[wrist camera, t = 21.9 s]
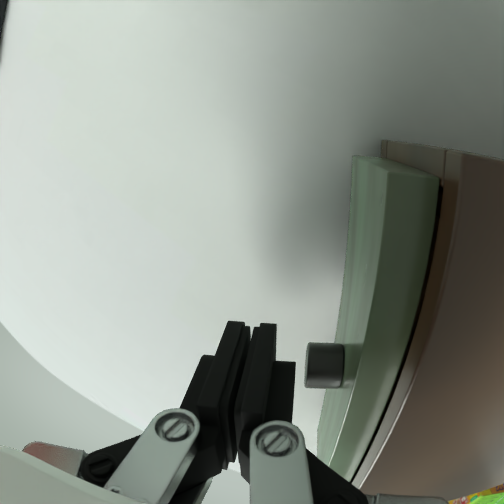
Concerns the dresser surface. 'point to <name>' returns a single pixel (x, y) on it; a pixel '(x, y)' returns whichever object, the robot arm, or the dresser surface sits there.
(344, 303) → the drawer
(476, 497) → the game box
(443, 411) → the cabinet
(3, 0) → the pad
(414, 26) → the dresser surface
